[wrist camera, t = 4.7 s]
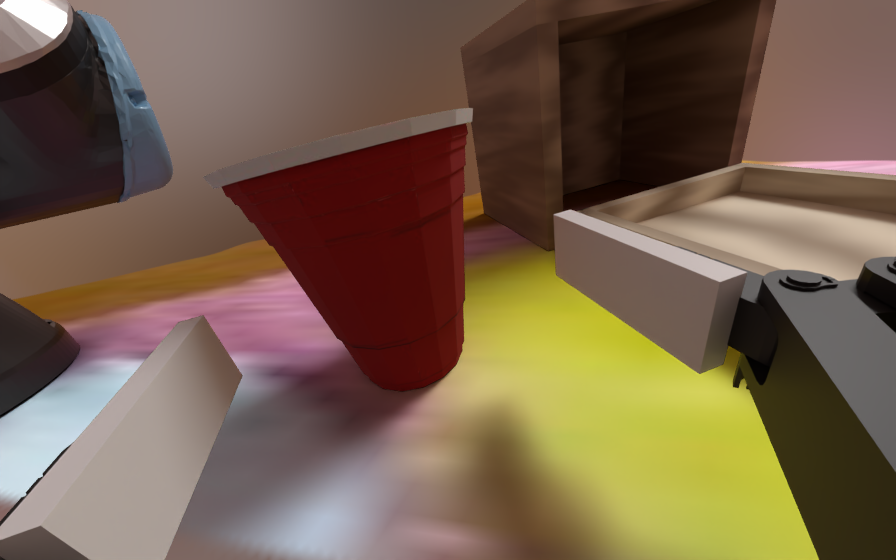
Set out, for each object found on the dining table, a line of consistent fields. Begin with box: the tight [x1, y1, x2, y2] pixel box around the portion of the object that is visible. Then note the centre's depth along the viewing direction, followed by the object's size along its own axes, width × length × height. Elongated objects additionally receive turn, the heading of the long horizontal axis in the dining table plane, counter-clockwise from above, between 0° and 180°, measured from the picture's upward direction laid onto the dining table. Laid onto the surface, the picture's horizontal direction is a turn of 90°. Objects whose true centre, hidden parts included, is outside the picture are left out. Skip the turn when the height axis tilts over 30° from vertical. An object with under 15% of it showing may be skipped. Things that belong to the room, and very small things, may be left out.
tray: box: [576, 163, 896, 281], centre depth 18 cm, size 20×20×4 cm
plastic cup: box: [204, 108, 473, 391], centre depth 16 cm, size 11×11×12 cm
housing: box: [461, 0, 776, 251], centre depth 31 cm, size 20×14×17 cm
